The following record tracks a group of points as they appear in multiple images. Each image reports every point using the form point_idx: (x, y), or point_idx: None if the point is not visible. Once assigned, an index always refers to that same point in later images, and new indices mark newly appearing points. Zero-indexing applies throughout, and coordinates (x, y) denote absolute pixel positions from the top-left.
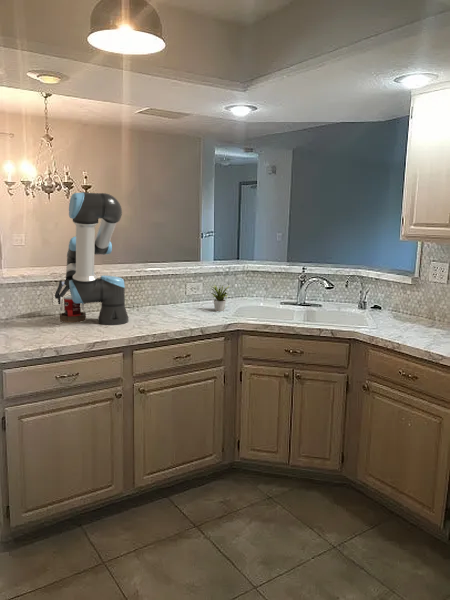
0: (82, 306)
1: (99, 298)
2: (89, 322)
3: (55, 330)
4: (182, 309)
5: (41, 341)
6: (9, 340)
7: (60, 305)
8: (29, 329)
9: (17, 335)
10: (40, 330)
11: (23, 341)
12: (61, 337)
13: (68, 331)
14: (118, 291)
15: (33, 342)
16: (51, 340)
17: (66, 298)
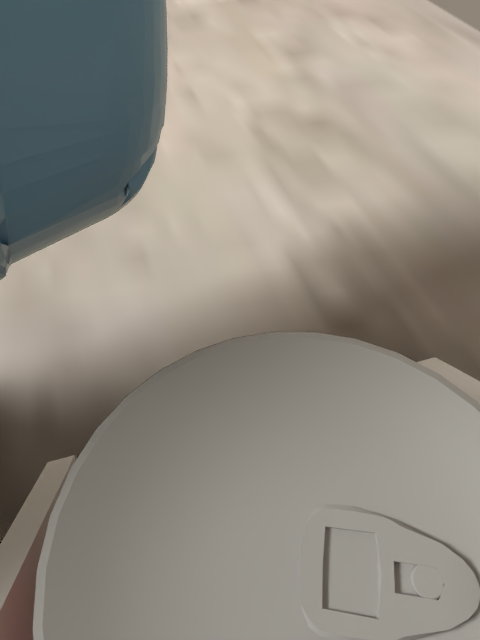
0: (59, 465)
1: None
2: (56, 452)
3: (272, 166)
4: None
5: (247, 17)
6: (410, 3)
7: (453, 372)
8: (475, 159)
9: (439, 58)
10: (377, 151)
11: (331, 5)
12: (174, 69)
13: (173, 160)
14: None
15: (276, 3)
16: (206, 32)
17: (373, 348)
